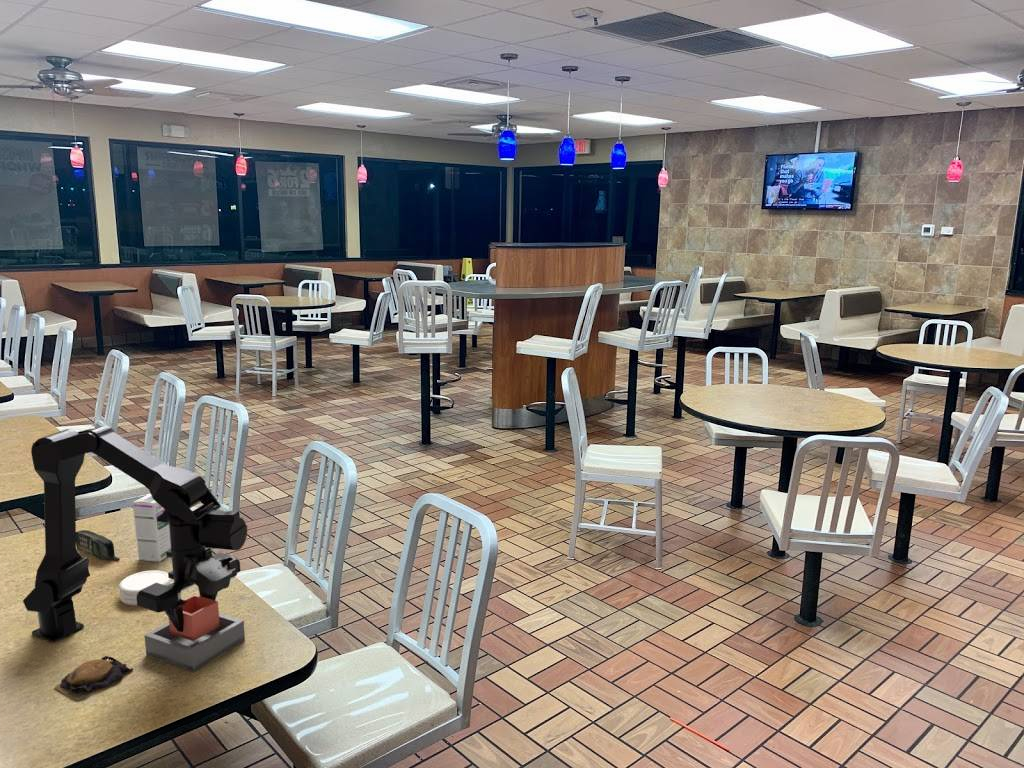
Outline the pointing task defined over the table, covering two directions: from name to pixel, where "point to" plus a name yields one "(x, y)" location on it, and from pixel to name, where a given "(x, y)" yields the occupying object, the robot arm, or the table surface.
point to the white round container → (140, 584)
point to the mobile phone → (95, 545)
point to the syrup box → (150, 530)
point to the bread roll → (92, 678)
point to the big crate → (194, 644)
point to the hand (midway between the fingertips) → (194, 623)
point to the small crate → (197, 617)
